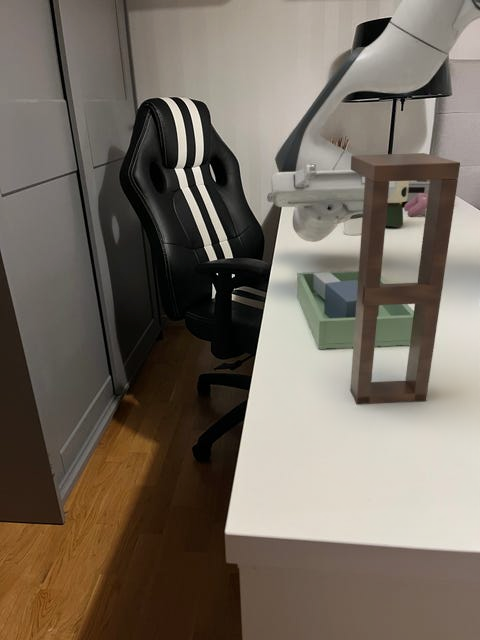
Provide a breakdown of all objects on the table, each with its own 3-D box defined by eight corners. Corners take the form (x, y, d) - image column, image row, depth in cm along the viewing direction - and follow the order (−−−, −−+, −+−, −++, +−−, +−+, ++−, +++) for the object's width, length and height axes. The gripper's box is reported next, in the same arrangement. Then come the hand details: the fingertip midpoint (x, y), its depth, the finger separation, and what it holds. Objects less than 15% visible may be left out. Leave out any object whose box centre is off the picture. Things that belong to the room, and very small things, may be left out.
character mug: (401, 232, 126) (407, 179, 121) (373, 230, 129) (377, 178, 124) (406, 222, 135) (412, 173, 130) (379, 221, 138) (384, 172, 133)
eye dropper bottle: (344, 230, 129) (347, 183, 124) (367, 232, 127) (370, 183, 123) (342, 234, 125) (344, 186, 121) (365, 236, 124) (368, 186, 119)
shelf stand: (399, 362, 65) (424, 153, 54) (426, 400, 57) (460, 162, 46) (338, 365, 65) (351, 155, 54) (356, 404, 57) (375, 165, 46)
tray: (373, 292, 88) (375, 269, 86) (415, 345, 69) (419, 316, 68) (296, 296, 88) (297, 272, 86) (318, 349, 69) (319, 321, 67)
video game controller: (420, 222, 141) (435, 200, 138) (406, 215, 141) (420, 192, 138) (415, 215, 150) (429, 194, 147) (402, 208, 150) (415, 187, 147)
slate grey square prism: (333, 292, 87) (335, 264, 85) (377, 329, 72) (380, 297, 70) (306, 295, 86) (307, 267, 84) (344, 334, 71) (346, 301, 69)
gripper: (265, 184, 88) (272, 150, 74) (379, 180, 89) (407, 145, 75) (267, 219, 88) (274, 191, 74) (382, 215, 88) (411, 186, 74)
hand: (342, 168), depth 74 cm, fingers open, 8 cm apart
